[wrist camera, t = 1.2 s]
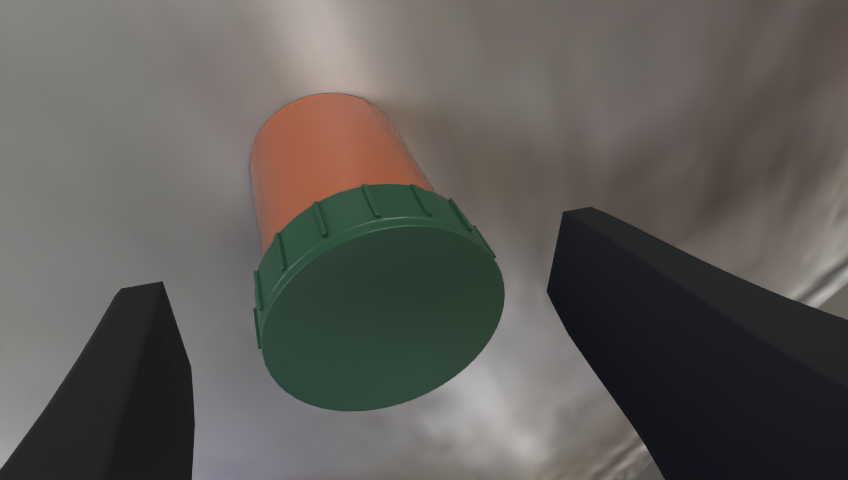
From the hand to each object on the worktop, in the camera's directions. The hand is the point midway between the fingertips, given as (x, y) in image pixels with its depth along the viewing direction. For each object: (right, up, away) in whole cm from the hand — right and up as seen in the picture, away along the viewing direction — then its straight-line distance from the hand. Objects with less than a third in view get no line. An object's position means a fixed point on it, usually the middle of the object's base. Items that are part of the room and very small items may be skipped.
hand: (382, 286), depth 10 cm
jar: (-3, +3, +9) cm, 10 cm away
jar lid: (0, -1, +3) cm, 3 cm away
